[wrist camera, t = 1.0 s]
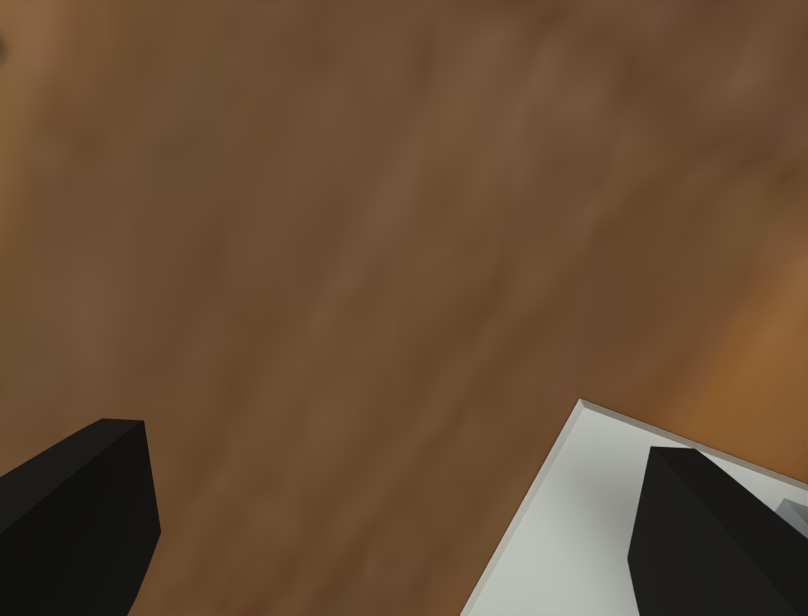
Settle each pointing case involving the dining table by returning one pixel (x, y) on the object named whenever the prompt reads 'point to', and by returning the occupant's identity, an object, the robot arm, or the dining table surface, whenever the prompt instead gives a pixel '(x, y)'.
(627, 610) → the panel
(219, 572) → the dining table surface
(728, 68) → the dining table surface
